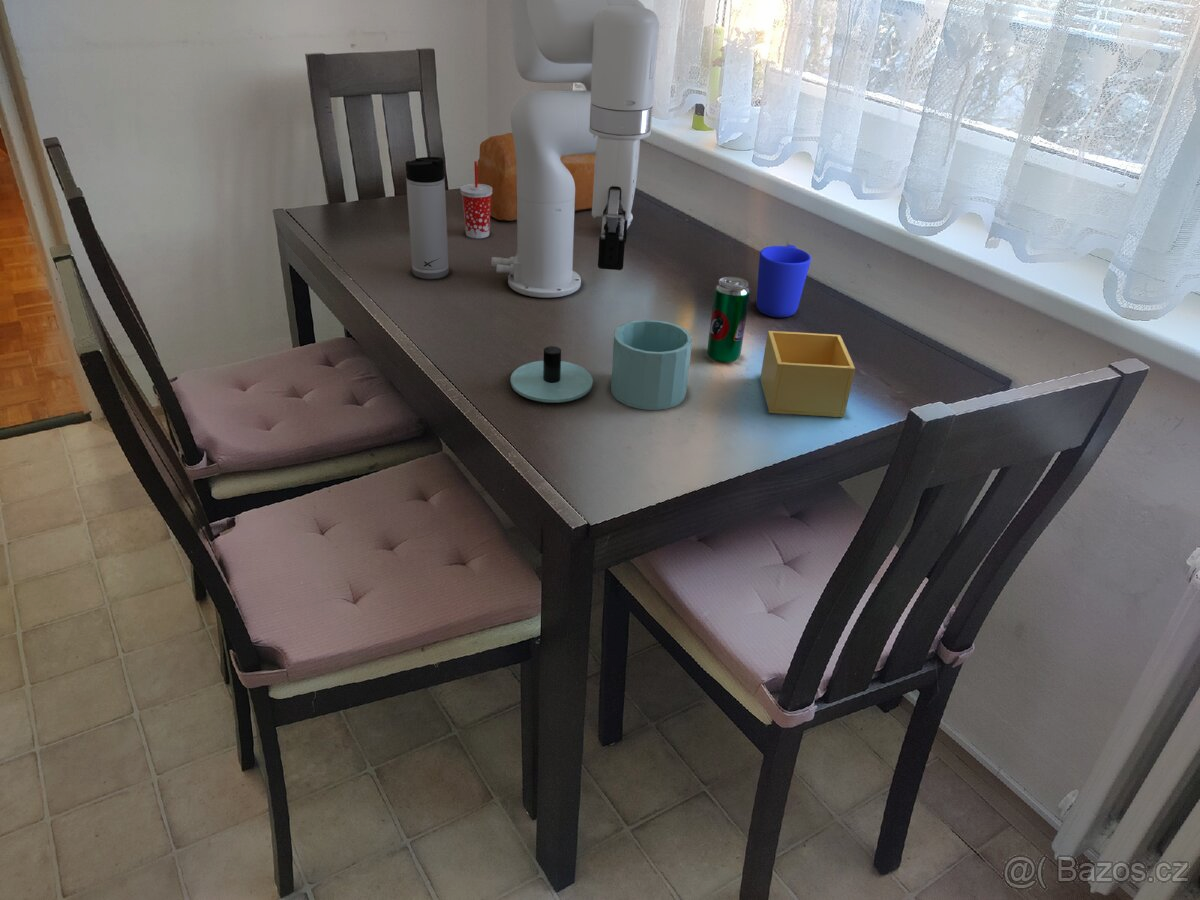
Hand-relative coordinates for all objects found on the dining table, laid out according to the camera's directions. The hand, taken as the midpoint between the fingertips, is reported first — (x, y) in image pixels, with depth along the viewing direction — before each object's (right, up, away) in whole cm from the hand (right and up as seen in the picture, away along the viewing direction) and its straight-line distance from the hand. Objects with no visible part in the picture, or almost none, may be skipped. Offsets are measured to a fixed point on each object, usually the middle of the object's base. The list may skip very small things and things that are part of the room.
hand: (612, 254), depth 118 cm
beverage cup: (-26, +16, +56) cm, 64 cm away
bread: (-14, +26, +72) cm, 78 cm away
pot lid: (-8, -16, +6) cm, 19 cm away
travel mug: (-31, +5, +39) cm, 50 cm away
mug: (+28, -2, +34) cm, 44 cm away
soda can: (+17, -12, +17) cm, 27 cm away
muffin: (+2, +17, +61) cm, 63 cm away
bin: (+27, -18, +8) cm, 33 cm away
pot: (+5, -18, +7) cm, 20 cm away
